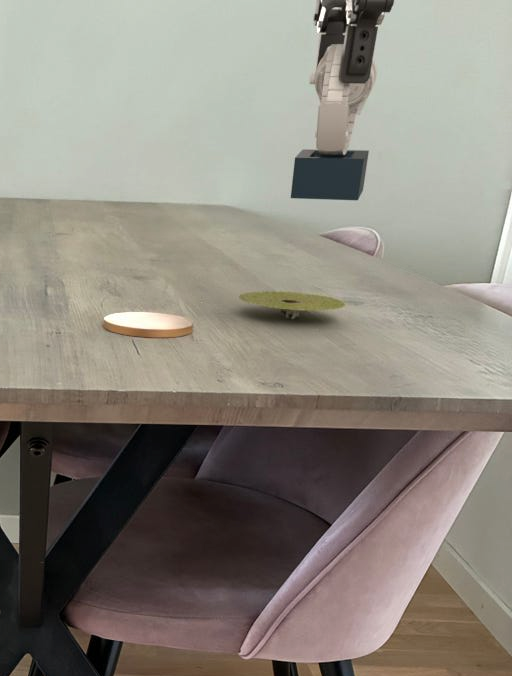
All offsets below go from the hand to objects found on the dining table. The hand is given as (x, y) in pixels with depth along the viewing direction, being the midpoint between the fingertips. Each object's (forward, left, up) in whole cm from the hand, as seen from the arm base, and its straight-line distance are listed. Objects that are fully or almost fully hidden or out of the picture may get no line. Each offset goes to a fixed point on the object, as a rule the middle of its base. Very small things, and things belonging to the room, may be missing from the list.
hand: (338, 84), depth 77 cm
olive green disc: (-3, -18, -22) cm, 29 cm away
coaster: (+13, -9, -22) cm, 27 cm away
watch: (-1, -1, -8) cm, 8 cm away
